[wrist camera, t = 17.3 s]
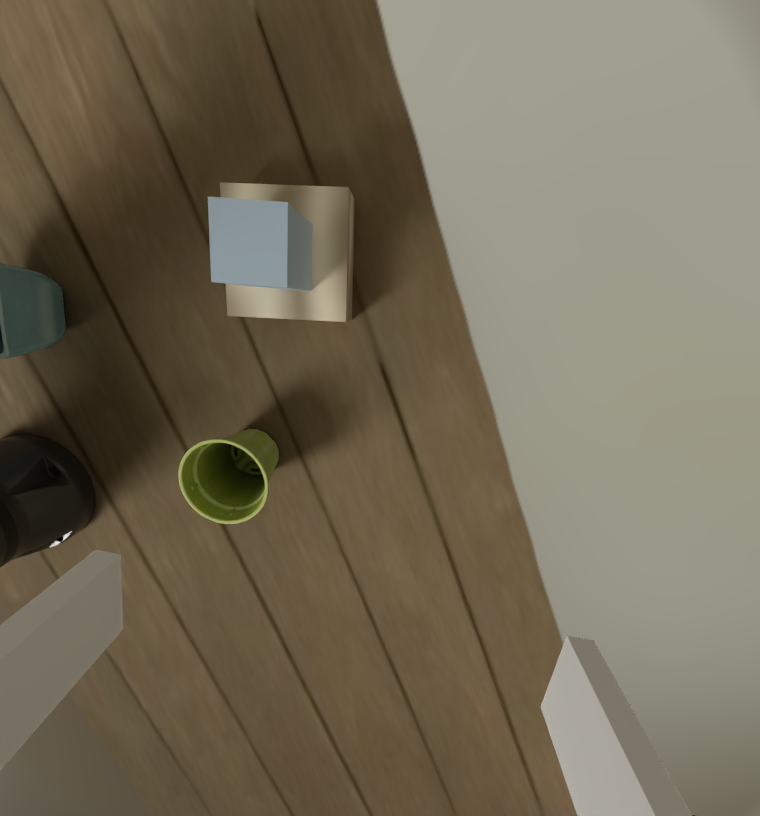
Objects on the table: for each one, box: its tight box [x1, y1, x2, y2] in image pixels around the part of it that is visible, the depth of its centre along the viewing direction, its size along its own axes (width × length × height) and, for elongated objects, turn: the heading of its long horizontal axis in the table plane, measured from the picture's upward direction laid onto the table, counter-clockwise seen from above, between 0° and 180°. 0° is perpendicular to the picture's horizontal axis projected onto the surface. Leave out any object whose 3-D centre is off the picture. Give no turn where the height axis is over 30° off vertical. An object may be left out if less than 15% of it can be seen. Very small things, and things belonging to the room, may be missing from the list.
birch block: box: [220, 182, 355, 322], centre depth 39 cm, size 12×12×5 cm
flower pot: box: [0, 264, 66, 358], centre depth 39 cm, size 9×9×9 cm
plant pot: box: [179, 429, 279, 524], centre depth 43 cm, size 9×9×9 cm
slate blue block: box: [208, 197, 313, 291], centre depth 33 cm, size 6×6×8 cm
